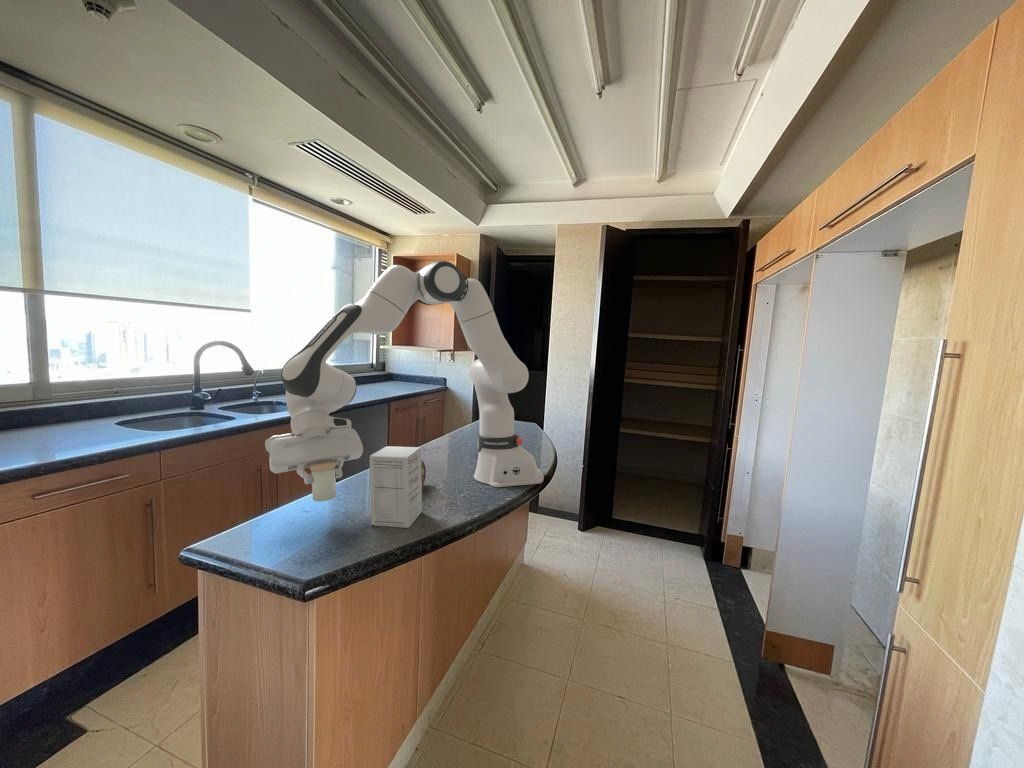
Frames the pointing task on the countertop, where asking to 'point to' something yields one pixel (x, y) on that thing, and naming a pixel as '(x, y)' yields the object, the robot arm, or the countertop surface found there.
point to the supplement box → (395, 486)
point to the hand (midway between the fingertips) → (324, 479)
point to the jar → (323, 480)
